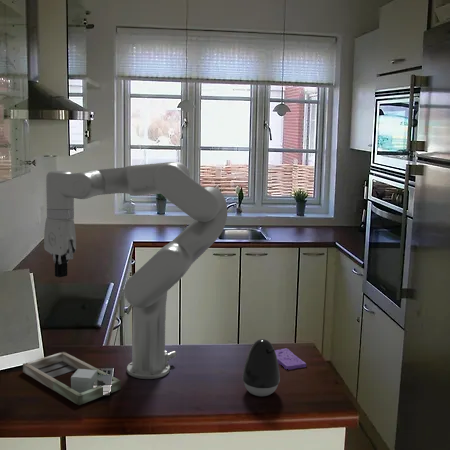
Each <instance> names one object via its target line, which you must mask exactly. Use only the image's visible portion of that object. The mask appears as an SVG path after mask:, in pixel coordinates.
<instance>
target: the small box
mask: <svg viewBox="0 0 450 450" xmlns="http://www.w3.org/2000/svg"><path fill="white" fill-rule="evenodd" d="M96 379H97V370H89V369H78V370H75V371H74V373H72V375H71V377H70V388H72V389H73V390H75V391H77V392H79V393H82V392H85V391H88V390H90V389H93V385H94V382H95V380H96Z"/></svg>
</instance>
